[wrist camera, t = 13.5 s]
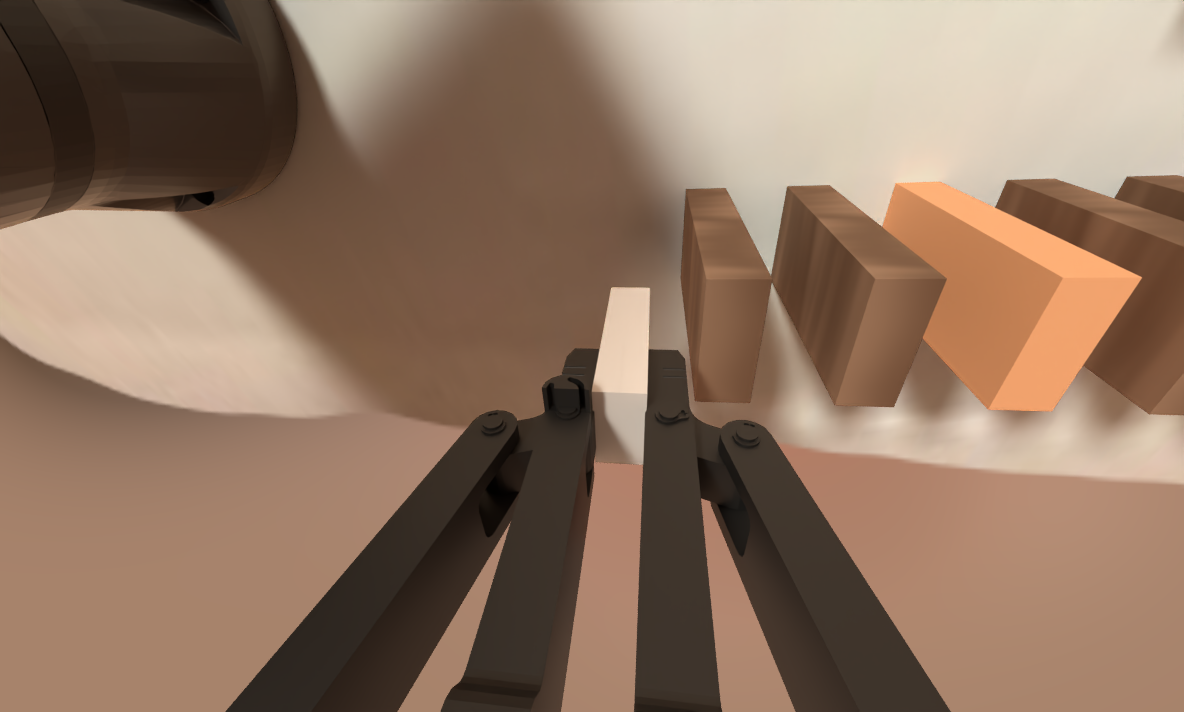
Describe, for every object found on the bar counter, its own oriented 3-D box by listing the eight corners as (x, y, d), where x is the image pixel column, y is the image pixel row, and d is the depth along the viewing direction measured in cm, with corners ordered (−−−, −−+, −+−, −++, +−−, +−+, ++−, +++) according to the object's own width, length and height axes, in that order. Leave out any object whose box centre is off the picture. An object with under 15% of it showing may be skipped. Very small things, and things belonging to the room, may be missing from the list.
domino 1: (680, 278, 26) (695, 401, 17) (685, 189, 23) (706, 279, 14) (716, 278, 26) (750, 402, 17) (725, 188, 23) (772, 279, 14)
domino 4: (964, 277, 24) (1149, 414, 15) (1007, 180, 21) (1264, 277, 12) (1005, 277, 24) (1218, 415, 15) (1054, 178, 21) (1351, 276, 12)
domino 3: (866, 277, 25) (988, 409, 16) (895, 183, 22) (1063, 277, 13) (905, 277, 25) (1051, 411, 16) (940, 181, 22) (1142, 277, 13)
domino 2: (770, 278, 26) (835, 405, 16) (787, 186, 23) (875, 279, 14) (808, 278, 25) (893, 406, 16) (829, 185, 22) (947, 278, 13)
